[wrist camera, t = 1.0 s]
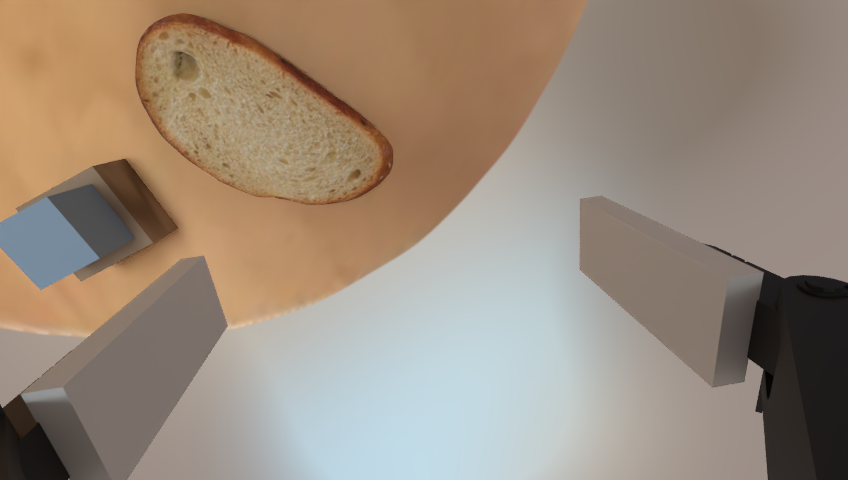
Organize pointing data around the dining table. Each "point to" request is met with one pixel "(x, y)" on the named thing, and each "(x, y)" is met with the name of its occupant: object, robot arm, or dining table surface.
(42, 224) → the tower top
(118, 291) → the dining table surface
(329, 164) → the slice of bread
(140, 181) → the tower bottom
